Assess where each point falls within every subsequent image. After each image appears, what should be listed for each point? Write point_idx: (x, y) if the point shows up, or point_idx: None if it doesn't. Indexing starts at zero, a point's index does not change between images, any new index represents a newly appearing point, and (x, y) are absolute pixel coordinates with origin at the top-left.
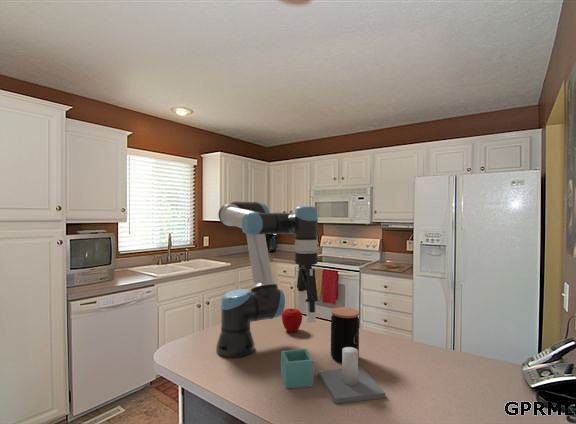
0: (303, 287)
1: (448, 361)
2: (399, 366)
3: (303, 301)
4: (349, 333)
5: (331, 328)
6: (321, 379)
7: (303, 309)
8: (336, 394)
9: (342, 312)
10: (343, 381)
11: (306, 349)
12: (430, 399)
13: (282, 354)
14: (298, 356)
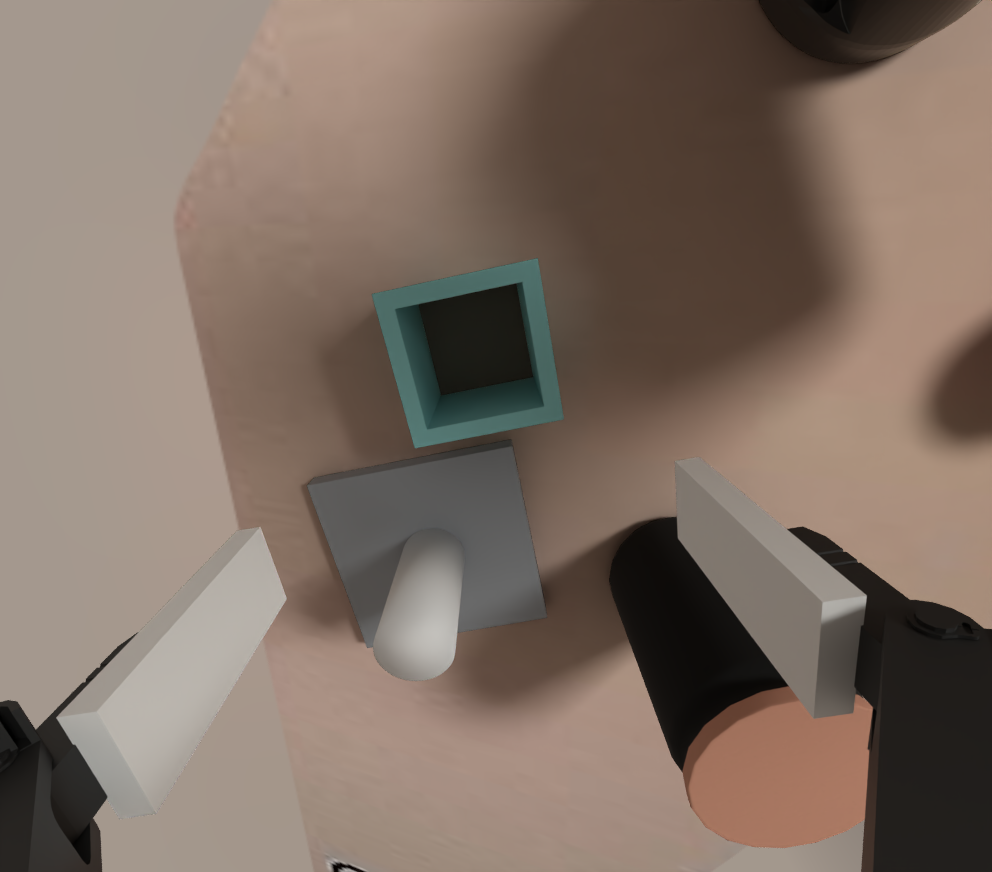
0: (870, 766)
1: (606, 858)
2: (580, 727)
3: (724, 570)
4: (647, 682)
5: None
6: (471, 449)
7: (679, 515)
8: (334, 493)
9: (768, 762)
10: (418, 534)
11: (554, 420)
12: (376, 742)
13: (490, 268)
14: (535, 365)
